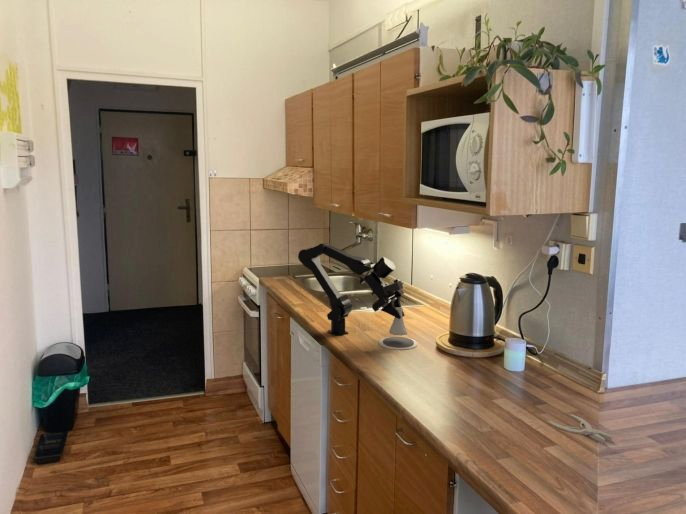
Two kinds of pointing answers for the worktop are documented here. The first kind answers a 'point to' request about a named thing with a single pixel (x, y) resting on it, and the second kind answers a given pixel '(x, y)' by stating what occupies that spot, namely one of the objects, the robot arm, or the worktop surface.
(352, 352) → the worktop surface
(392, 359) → the worktop surface
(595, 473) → the worktop surface
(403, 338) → the coaster
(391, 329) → the flask
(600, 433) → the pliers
